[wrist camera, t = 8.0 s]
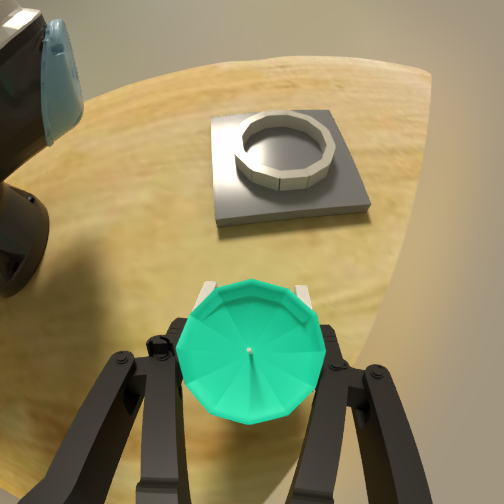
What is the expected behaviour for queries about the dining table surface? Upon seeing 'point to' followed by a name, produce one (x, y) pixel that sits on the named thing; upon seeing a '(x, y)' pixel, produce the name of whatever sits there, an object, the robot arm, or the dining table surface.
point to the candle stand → (282, 167)
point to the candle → (251, 352)
